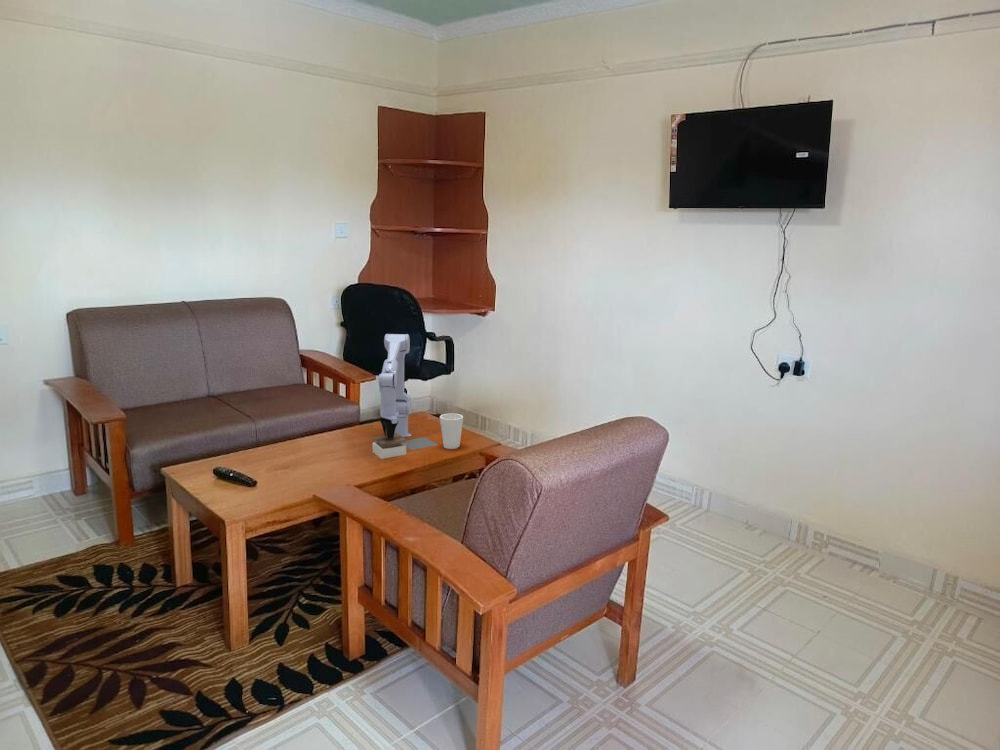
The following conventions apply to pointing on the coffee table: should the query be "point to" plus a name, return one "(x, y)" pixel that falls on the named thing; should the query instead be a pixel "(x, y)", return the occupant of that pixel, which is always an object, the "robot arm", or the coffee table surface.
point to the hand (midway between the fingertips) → (389, 436)
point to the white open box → (389, 450)
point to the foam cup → (451, 430)
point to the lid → (389, 439)
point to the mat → (419, 443)
